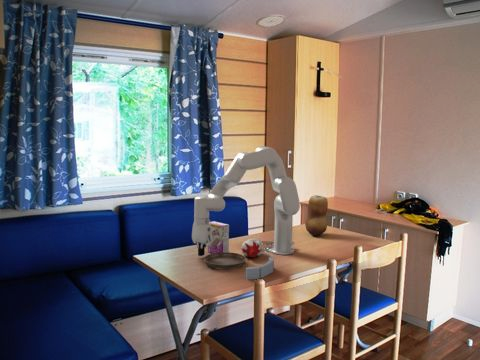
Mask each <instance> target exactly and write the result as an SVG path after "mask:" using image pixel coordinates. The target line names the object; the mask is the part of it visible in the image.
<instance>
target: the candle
mask: <svg viewBox="0 0 480 360" xmlns="http://www.w3.org/2000/svg"><path fill="white" fill-rule="evenodd" d="M240 250H241V253H242V255H243V256H245V258H255V257H257V256H261V254H262V251H263V245H262V243H261V239H259V238H249V239H247V240H245V241H244V242H243V243H242V244H241V248H240Z"/></svg>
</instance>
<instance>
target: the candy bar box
mask: <svg viewBox="0 0 480 360" xmlns="http://www.w3.org/2000/svg"><path fill="white" fill-rule="evenodd" d="M209 223H210V225H211V231H212V241H211V242H210V246H207V253H210V254H213V253H221V252H229V251H230V250H229V248H230V247H229V244H230V224H228V223H223V222H218V221H215V220H214V221H213V220H212V221H210V222H209ZM229 253H230V252H229Z"/></svg>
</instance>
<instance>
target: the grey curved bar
mask: <svg viewBox="0 0 480 360" xmlns="http://www.w3.org/2000/svg"><path fill="white" fill-rule="evenodd" d="M274 263H275V260H274V258H273V257H272V256H271V257H270V256H269V257H268V261H267V262H265V263H263V264H262V265H259V266H251V267H249V266H248V267H246V268H245V279H246V281H247V280H258V279H262V278H264V277H266V276H268V275H270V274H272V273H273V272H274V269H275V267H274V266H275V264H274Z"/></svg>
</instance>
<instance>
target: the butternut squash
mask: <svg viewBox="0 0 480 360" xmlns="http://www.w3.org/2000/svg"><path fill="white" fill-rule="evenodd" d="M307 205H308V206H307V218H306V221H305V224H304V226H305V230H306V231H307V232H308V234H309V235H310V236H312V235H313V236H316V235H317V236H321V235H323V234H324V233H326V231H327V228H328V222H327V217H326V215H327V211H328V207H329V206H328V205H329V203H328V198H327V197H326V196H323V195H316V194H315V195H314V194H313V195H312V196H310V198H309V200H308V203H307ZM313 236H312V237H313Z"/></svg>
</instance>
